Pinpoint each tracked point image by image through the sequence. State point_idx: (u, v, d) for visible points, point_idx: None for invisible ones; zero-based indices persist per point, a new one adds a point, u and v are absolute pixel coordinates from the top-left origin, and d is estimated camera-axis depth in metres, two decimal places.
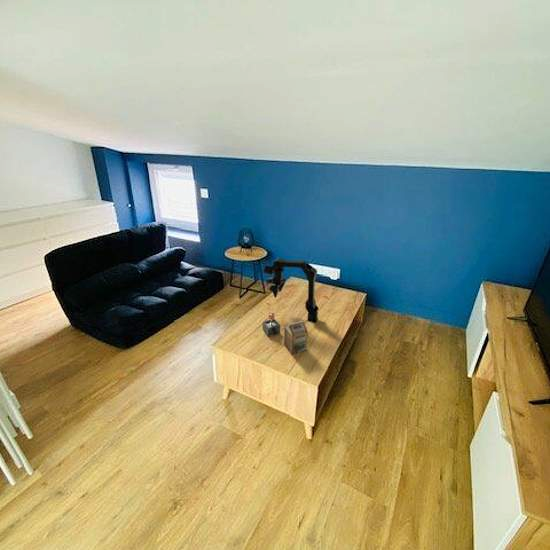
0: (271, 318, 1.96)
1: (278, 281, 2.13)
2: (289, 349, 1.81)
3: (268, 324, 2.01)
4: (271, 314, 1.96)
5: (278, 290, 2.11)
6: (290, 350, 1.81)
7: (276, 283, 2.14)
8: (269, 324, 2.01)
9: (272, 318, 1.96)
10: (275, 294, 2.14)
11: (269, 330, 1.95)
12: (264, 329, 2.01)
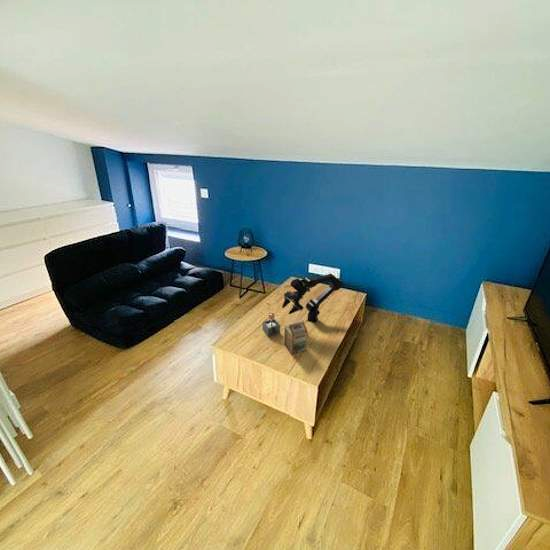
0: (271, 318, 1.96)
1: (299, 299, 2.00)
2: (289, 349, 1.81)
3: (268, 324, 2.01)
4: (271, 314, 1.96)
5: None
6: (290, 350, 1.81)
7: (297, 300, 1.99)
8: (269, 324, 2.01)
9: (272, 318, 1.96)
10: (292, 311, 1.97)
11: (269, 330, 1.95)
12: (264, 329, 2.01)
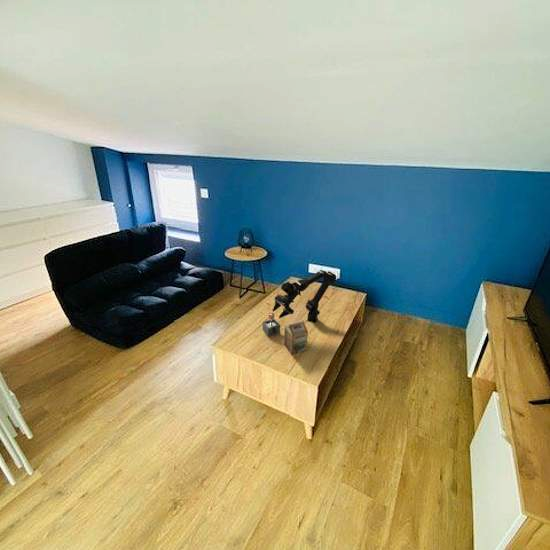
0: (271, 318, 1.96)
1: (290, 303, 1.97)
2: (289, 349, 1.81)
3: (268, 324, 2.01)
4: (271, 314, 1.96)
5: (289, 312, 1.95)
6: (290, 350, 1.81)
7: (287, 304, 1.96)
8: (269, 324, 2.01)
9: (272, 318, 1.96)
10: (283, 315, 1.94)
11: (269, 330, 1.95)
12: (264, 329, 2.01)
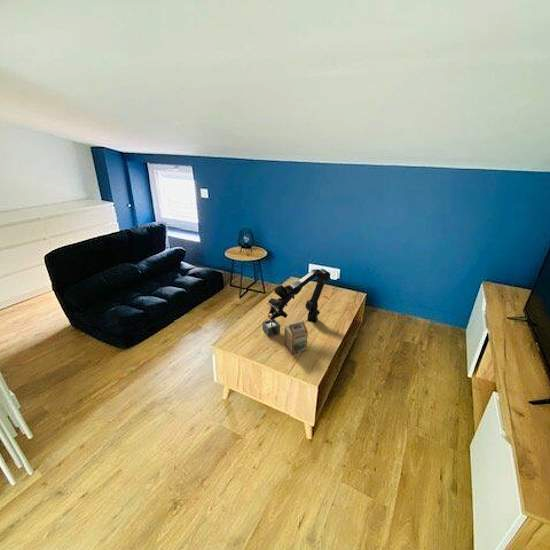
0: None
1: (284, 306, 1.96)
2: (289, 349, 1.81)
3: (268, 324, 2.01)
4: (271, 314, 1.96)
5: (281, 314, 1.96)
6: (290, 350, 1.81)
7: (281, 308, 1.95)
8: (269, 324, 2.01)
9: None
10: (274, 317, 1.95)
11: (269, 330, 1.95)
12: (264, 329, 2.01)
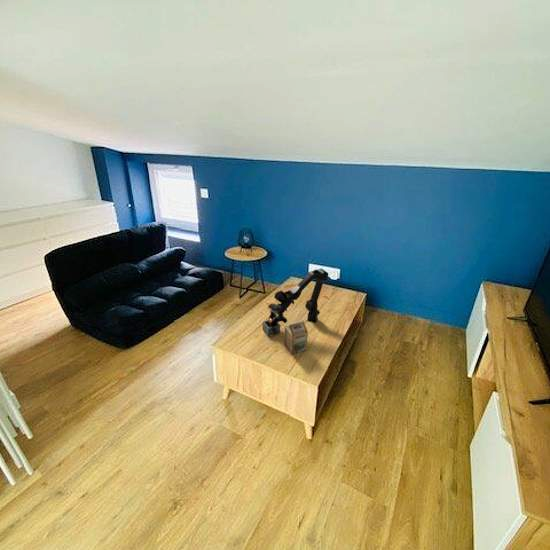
0: None
1: (284, 311, 1.98)
2: (289, 349, 1.81)
3: None
4: (271, 319, 1.98)
5: None
6: (290, 350, 1.81)
7: (281, 313, 1.97)
8: None
9: None
10: (274, 322, 1.97)
11: (269, 330, 1.95)
12: (264, 329, 2.01)
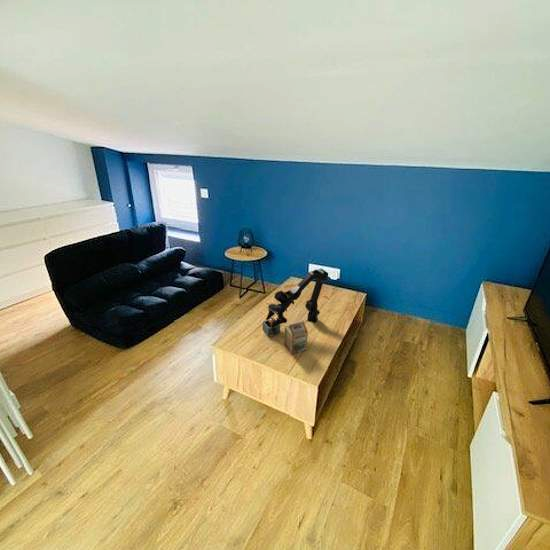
0: (271, 323, 1.98)
1: (284, 311, 1.98)
2: (289, 349, 1.81)
3: None
4: (271, 319, 1.98)
5: None
6: (290, 350, 1.81)
7: (281, 313, 1.97)
8: None
9: (272, 323, 1.98)
10: (276, 324, 1.95)
11: (269, 330, 1.95)
12: (264, 329, 2.01)
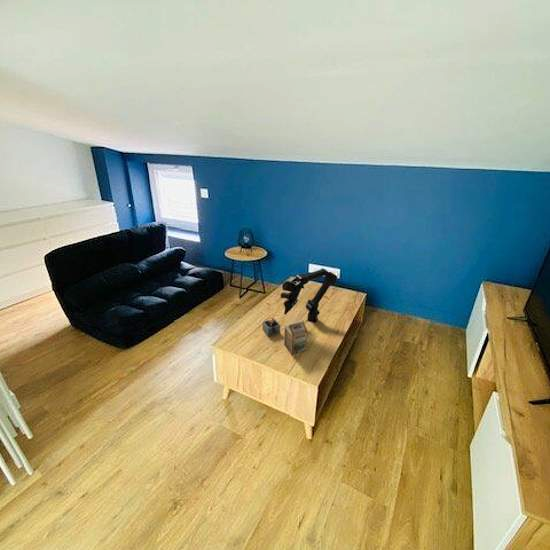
0: (271, 323, 1.98)
1: (294, 298, 1.98)
2: (289, 349, 1.81)
3: None
4: (271, 319, 1.98)
5: (292, 307, 1.95)
6: (290, 350, 1.81)
7: (291, 300, 1.98)
8: None
9: (272, 323, 1.98)
10: (286, 311, 1.97)
11: (269, 330, 1.95)
12: (264, 329, 2.01)
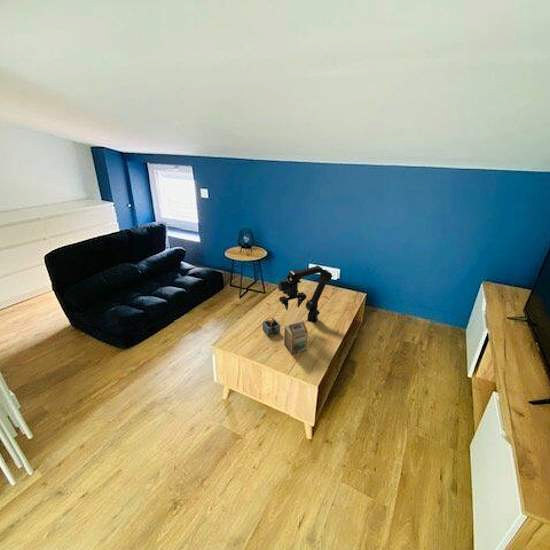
0: (271, 323, 1.98)
1: (291, 294, 1.98)
2: (289, 349, 1.81)
3: None
4: (271, 319, 1.98)
5: (287, 303, 1.97)
6: (290, 350, 1.81)
7: (289, 296, 2.00)
8: None
9: (272, 323, 1.98)
10: (286, 307, 2.01)
11: (269, 330, 1.95)
12: (264, 329, 2.01)
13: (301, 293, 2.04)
